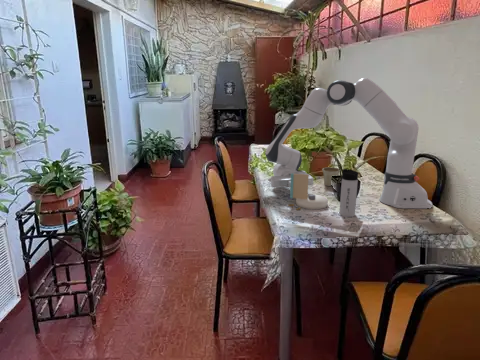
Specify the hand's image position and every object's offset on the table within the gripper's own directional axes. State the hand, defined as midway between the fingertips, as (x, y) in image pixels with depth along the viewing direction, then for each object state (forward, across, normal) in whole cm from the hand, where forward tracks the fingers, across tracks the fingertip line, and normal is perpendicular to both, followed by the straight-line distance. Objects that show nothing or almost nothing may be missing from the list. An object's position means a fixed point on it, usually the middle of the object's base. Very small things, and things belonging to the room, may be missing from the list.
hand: (296, 185), depth 168 cm
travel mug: (+19, +16, +9) cm, 26 cm away
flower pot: (-28, +28, +9) cm, 40 cm away
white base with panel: (+4, +5, +8) cm, 10 cm away
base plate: (+4, +6, +9) cm, 12 cm away
